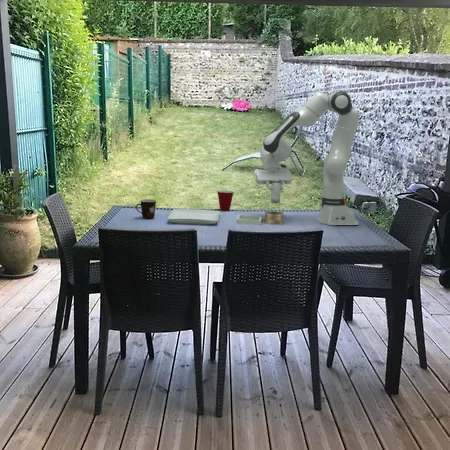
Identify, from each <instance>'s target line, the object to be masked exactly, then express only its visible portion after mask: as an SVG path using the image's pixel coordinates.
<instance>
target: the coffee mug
mask: <svg viewBox="0 0 450 450" xmlns="http://www.w3.org/2000/svg"><path fill="white" fill-rule="evenodd" d="M156 204H157V200H156V199H153V198H145V199H144V198H142V199H140V203H138V204H136V205H135V210H136V211H137V212H138V213H140V214H141V217H142V219H143V220H150V221H151V220H154V219H155V213H156V206H157V205H156ZM138 206H140V208H141V211H140V210H138Z"/></svg>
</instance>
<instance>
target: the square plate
mask: <svg viewBox="0 0 450 450" xmlns="http://www.w3.org/2000/svg"><path fill="white" fill-rule="evenodd" d="M220 213H221V210H208V209H194V208H193V209H191V208H190V209H189V208H174V209H172V210H171V212H170V213H169V215H168V217H166V218H167V220H168V221H169V222H171V223H174V224H182V225H183V224H185V225H187V224H189V225H214V224H216V223H217V222H218V221H219V218H220Z"/></svg>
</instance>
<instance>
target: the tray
mask: <svg viewBox="0 0 450 450" xmlns="http://www.w3.org/2000/svg"><path fill="white" fill-rule="evenodd" d="M262 219H263V218H262V215H255V214H254V215H252V214H238V215H237V217H236V224H237V225H239V224H240V225H262Z"/></svg>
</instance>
